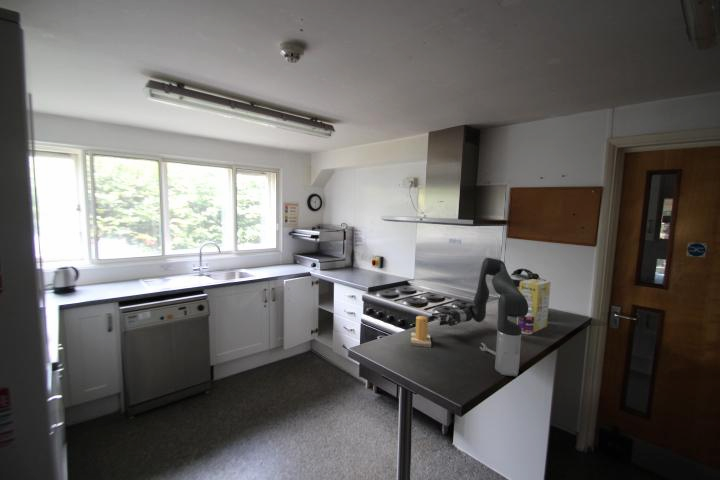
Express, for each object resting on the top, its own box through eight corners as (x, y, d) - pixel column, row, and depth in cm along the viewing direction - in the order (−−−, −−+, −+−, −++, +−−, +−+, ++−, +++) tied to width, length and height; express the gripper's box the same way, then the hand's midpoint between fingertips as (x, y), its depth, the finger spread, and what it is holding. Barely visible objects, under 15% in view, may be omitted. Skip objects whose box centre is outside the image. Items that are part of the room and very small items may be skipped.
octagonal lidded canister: (426, 340, 161) (427, 319, 160) (415, 339, 162) (416, 318, 161) (426, 336, 167) (427, 316, 166) (415, 335, 168) (416, 315, 167)
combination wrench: (516, 359, 139) (481, 341, 157) (514, 360, 139) (479, 342, 157) (515, 367, 140) (480, 348, 158) (513, 368, 139) (479, 349, 157)
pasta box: (529, 321, 204) (532, 278, 202) (546, 326, 196) (550, 281, 194) (516, 326, 192) (519, 281, 190) (534, 332, 184) (538, 285, 182)
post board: (430, 347, 157) (431, 330, 156) (410, 345, 159) (411, 328, 158) (429, 336, 171) (430, 321, 170) (411, 335, 172) (411, 320, 172)
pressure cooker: (503, 305, 241) (506, 264, 238) (546, 312, 225) (549, 268, 223) (495, 314, 216) (498, 269, 214) (542, 323, 200) (546, 274, 198)
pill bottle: (525, 335, 177) (527, 310, 176) (514, 330, 185) (515, 306, 184) (536, 334, 180) (538, 309, 179) (524, 329, 188) (525, 305, 187)
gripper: (447, 307, 182) (425, 310, 174) (466, 314, 170) (444, 317, 162) (446, 319, 183) (425, 323, 175) (465, 327, 171) (443, 332, 163)
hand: (434, 320), depth 168 cm, fingers open, 8 cm apart
